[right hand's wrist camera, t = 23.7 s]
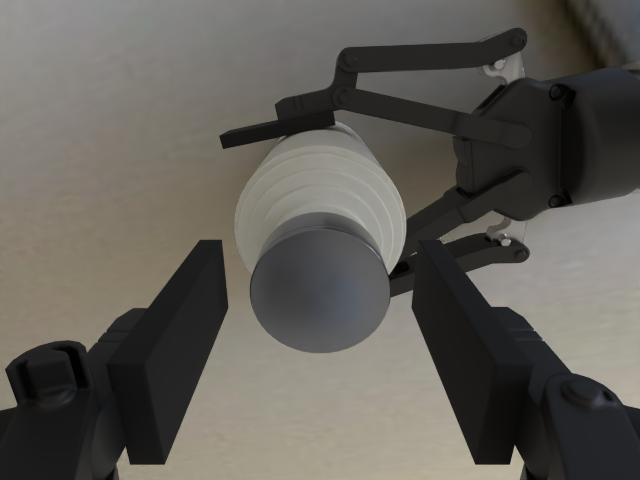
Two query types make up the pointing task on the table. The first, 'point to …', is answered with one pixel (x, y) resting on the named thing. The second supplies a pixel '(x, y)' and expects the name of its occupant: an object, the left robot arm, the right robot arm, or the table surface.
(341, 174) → the bottle
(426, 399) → the table surface
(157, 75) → the table surface
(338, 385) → the table surface
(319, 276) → the cap
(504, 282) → the table surface
